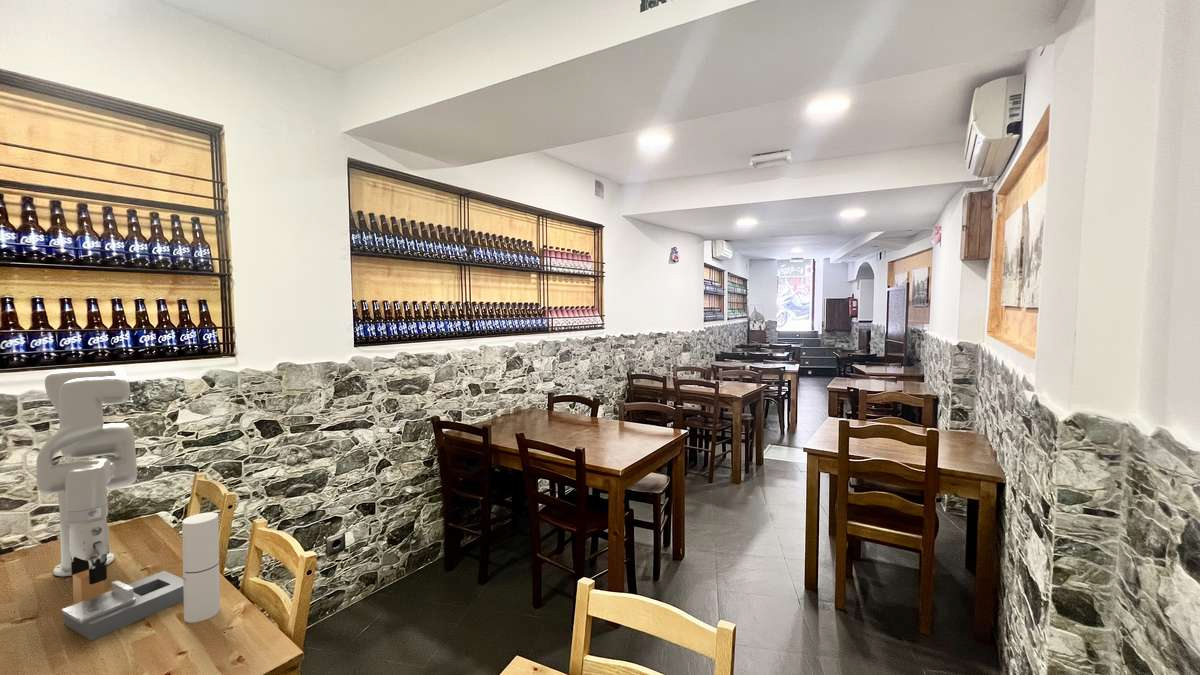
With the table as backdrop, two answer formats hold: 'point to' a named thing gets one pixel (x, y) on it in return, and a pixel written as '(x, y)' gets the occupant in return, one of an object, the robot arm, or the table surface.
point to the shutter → (101, 603)
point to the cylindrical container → (201, 566)
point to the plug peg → (85, 587)
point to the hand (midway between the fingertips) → (89, 578)
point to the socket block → (134, 605)
